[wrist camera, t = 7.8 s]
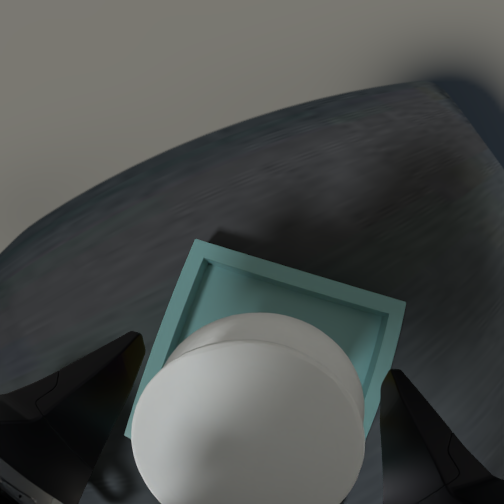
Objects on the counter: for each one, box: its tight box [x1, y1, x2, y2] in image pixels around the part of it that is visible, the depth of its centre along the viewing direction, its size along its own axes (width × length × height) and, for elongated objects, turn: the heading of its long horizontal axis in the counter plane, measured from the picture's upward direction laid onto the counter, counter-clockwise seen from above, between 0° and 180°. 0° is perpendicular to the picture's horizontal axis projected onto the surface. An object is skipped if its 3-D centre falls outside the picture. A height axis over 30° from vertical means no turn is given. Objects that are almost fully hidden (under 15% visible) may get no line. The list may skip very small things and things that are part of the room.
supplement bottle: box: [131, 312, 365, 504], centre depth 10 cm, size 7×7×13 cm
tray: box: [124, 239, 406, 440], centre depth 16 cm, size 14×14×2 cm
